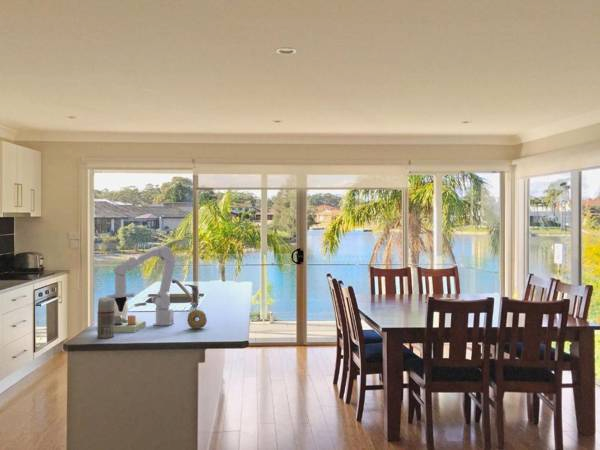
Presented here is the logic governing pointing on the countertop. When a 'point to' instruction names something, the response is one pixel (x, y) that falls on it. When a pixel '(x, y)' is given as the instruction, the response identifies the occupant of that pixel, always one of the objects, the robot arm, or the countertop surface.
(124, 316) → the jar
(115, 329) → the socket board
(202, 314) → the mottled brown donut
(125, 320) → the grey plug
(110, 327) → the spray can
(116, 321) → the grey plug
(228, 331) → the countertop surface
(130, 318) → the terracotta plug
